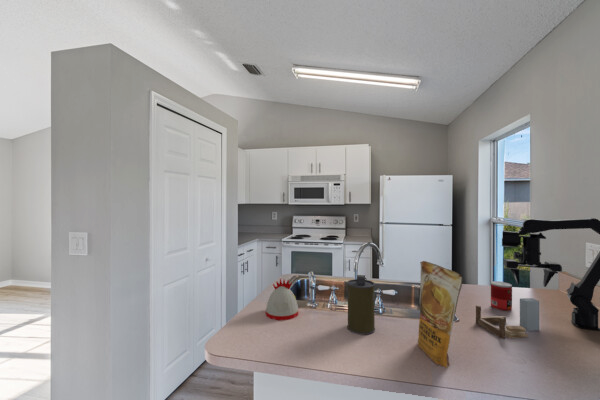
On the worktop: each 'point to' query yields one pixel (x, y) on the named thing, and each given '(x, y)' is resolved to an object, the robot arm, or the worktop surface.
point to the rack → (488, 321)
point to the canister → (361, 306)
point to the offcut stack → (515, 332)
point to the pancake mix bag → (437, 310)
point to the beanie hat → (282, 302)
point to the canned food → (501, 295)
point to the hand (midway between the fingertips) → (531, 285)
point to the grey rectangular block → (529, 314)
